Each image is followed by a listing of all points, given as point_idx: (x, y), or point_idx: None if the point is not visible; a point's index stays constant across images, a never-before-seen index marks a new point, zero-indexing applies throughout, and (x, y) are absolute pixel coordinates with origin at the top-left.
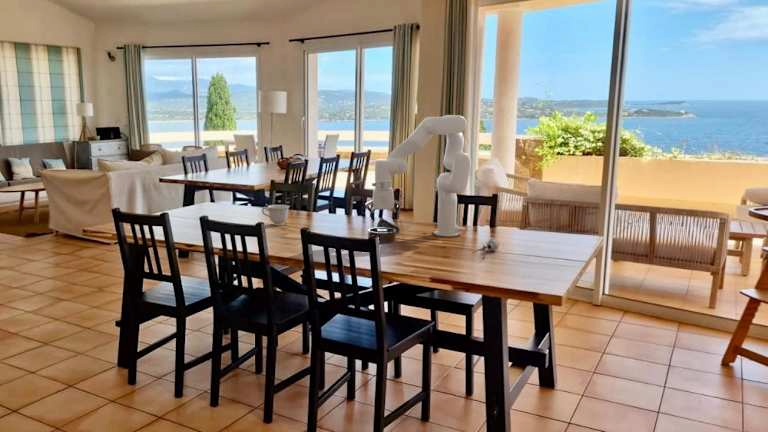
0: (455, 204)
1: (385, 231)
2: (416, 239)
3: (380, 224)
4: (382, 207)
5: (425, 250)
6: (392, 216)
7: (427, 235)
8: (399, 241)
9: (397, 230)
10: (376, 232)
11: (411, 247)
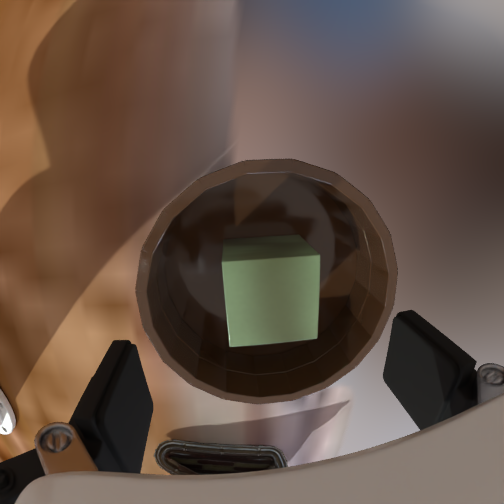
0: None
1: (238, 258)
2: (39, 304)
3: None
4: (399, 484)
5: (18, 26)
6: (145, 429)
7: (23, 388)
8: (128, 238)
9: (169, 457)
10: (335, 179)
11: (65, 64)
